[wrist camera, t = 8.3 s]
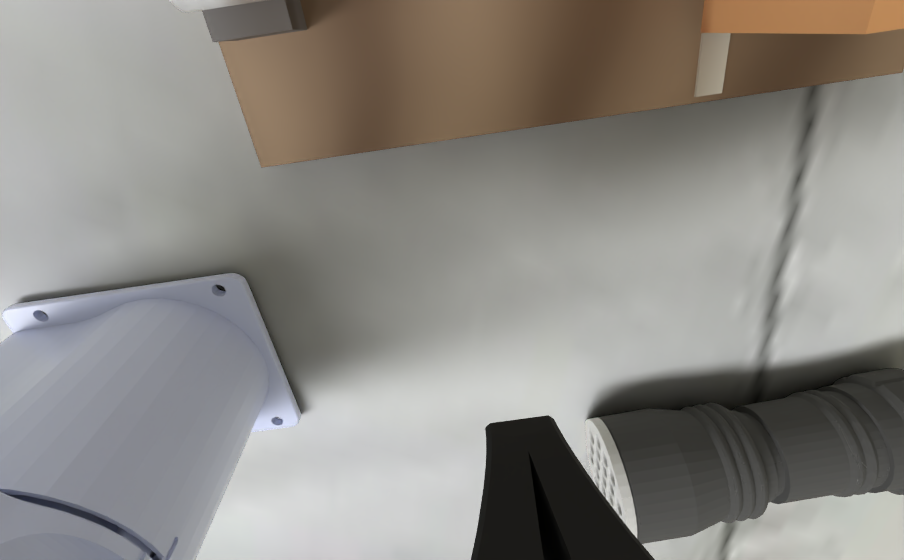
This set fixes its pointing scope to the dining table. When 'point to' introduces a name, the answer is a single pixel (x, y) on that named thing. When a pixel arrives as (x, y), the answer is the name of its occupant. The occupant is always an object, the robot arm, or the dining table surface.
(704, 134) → the dining table surface
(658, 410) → the flashlight
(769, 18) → the collar
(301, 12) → the pipe stand
